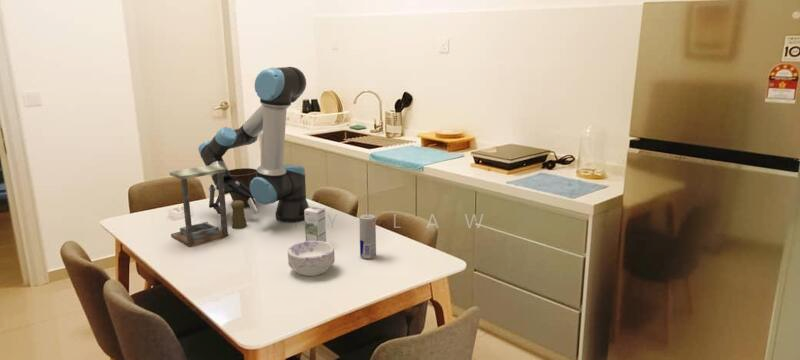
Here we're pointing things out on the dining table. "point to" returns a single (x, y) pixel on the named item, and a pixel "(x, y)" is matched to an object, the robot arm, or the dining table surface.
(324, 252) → the paper bowls
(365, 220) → the beverage can
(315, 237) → the syrup box
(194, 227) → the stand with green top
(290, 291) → the dining table surface
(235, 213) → the cork
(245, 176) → the plant pot
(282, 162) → the robot arm
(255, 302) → the dining table surface
